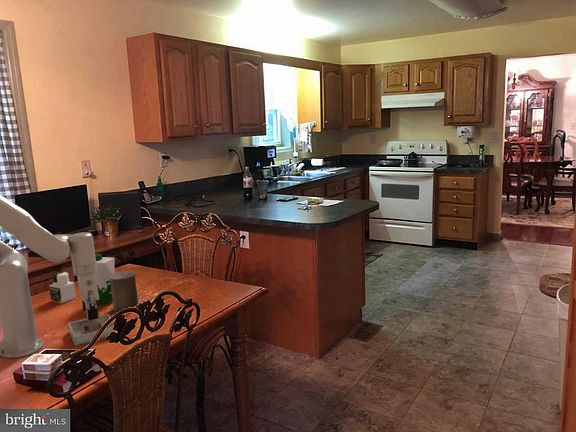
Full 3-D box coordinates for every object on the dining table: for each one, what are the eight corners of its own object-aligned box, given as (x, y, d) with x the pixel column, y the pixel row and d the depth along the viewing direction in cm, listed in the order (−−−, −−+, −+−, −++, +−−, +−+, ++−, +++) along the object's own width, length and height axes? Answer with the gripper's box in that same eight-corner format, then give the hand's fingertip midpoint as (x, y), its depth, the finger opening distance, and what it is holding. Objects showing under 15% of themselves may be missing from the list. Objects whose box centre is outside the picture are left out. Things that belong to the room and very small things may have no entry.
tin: (75, 346, 154) (73, 337, 154) (68, 332, 166) (67, 323, 165) (118, 335, 162) (117, 326, 161) (109, 322, 173) (108, 313, 173)
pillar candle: (142, 306, 188) (139, 271, 185) (119, 313, 181) (115, 277, 179) (131, 301, 195) (128, 266, 192) (109, 307, 188) (105, 272, 185)
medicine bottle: (50, 301, 198) (47, 274, 195) (65, 295, 204) (61, 269, 202) (61, 303, 194) (58, 276, 192) (76, 297, 201) (72, 271, 198)
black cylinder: (90, 334, 162) (86, 302, 160) (89, 331, 165) (84, 300, 162) (99, 332, 164) (95, 300, 161) (98, 329, 166) (93, 298, 164)
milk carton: (102, 296, 201) (97, 252, 198) (121, 297, 200) (116, 252, 196) (90, 303, 193) (84, 257, 189) (110, 304, 191) (104, 258, 187)
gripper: (101, 272, 154) (107, 320, 157) (91, 260, 168) (97, 304, 172) (77, 276, 150) (83, 325, 153) (69, 264, 164) (75, 309, 168)
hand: (90, 314), depth 163 cm, fingers open, 9 cm apart
